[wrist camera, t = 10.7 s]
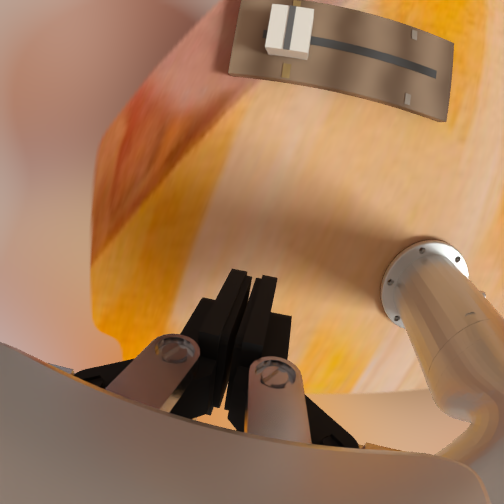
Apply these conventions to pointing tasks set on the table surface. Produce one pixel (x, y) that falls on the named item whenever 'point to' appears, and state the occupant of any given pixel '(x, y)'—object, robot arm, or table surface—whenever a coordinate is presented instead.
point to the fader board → (351, 57)
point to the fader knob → (289, 31)
